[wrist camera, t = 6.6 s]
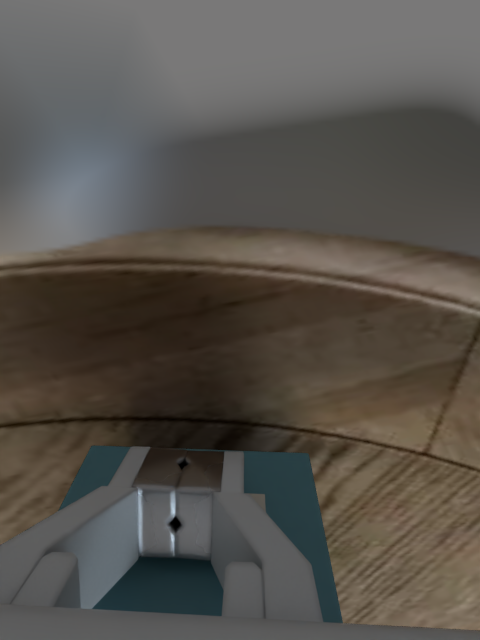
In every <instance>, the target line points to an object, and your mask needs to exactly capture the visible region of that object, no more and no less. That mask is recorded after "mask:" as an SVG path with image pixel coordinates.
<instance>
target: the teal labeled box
mask: <svg viewBox="0 0 480 640" xmlns="http://www.w3.org/2000/svg"><path fill="white" fill-rule="evenodd" d="M130 448H131V447H120V446H91V448H90V450H89V452H88V454H87V456H86V458H85V460H84V462H83V464H82V465H81V467H80V469H79V471H78V473H77V475H76V477H75V479H74V481H73V483H72V485H71V487H70V489H69V491H68V493H67V495H66V497H65V499H64V501H63V503H62V505H61V506H60V508H59V510H58V511H60V510H61V509H63V508H65V507H67V506H68V505H70V504H72V503H73V502H75V501H77V500H79V499H80V498H82V497H84V496H85V495H87V494H89V493H91V492H92V491H94V490H96V489H97V488H99V487H101V486H108V485H109V483H110V481H111V480H112V478H113V476H114V474H115V473H116V471H117V469H118V468H119V466H120V464H121V463H122V461H123V459H124V457H125V456H126V454H127V452H128V451H129V449H130ZM171 449H176V448H171ZM184 450H192V451H224V453H225V451H231V450H203V449H184ZM243 453H244V493H245V494H250V495H251V496H252V497H253V499H254V500H255V501H256V502H257V503H258V504H259V505H260V506H261V508H262V509H263V510H264V511H265V512H266V513H267V514H268V516H269V517H270V518H271V519H272V520H273V521H274V522H275V524H276V525H277V526H278V527H279V528H280V529H281V530H282V532H283V533H284V534H285V535H286V536H287V537H288V538H289V540H290V541H291V542H292V543H293V544H294V545H295V546H296V547H297V549H298V550H299V551H300V552H301V553H302V554H303V555H304V557H305V558H306V559H307V560H308V561H309V562H310V563H311V565H312V570H313V575H314V580H315V585H316V589H317V594H318V599H319V604H320V609H321V613H322V618H323V622H330V623H343V621H342V616H341V611H340V606H339V601H338V597H337V592H336V587H335V582H334V577H333V572H332V567H331V562H330V557H329V552H328V547H327V542H326V537H325V532H324V527H323V522H322V518H321V513H320V508H319V503H318V498H317V493H316V488H315V483H314V478H313V473H312V468H311V463H310V458H309V454H308V453H287V452H259V451H243ZM223 593H224V590H223V588H222V586H221V584H220V582H219V579H218V577H217V575H216V573H215V571H214V568H213V566H212V564H211V561H206V560H194V559H183V558H161V557H138V560H137V561H136V562H135V563H134V565H133V566H132V567H131V568H130V569H129V570H128V571H127V572H126V573H125V574H124V575H123V576H122V577H121V578H120V579H119V580H118V581H117V583H116V584H115V585H114V586H113V587H112V588H111V589H110V590H109V591H108V592H107V593H106V594H105V595H104V596H103V597H102V598H101V599H100V601H99V602H98V603H97V604H96V605H95V606H94V607H93V608H92V609H100V610H118V611H137V612H155V613H173V614H192V615H209V616H222V605H223Z"/></svg>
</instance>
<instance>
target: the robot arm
mask: <svg viewBox="0 0 480 640" xmlns="http://www.w3.org/2000/svg"><path fill="white" fill-rule="evenodd" d="M138 557H161V558H183V559H194V560H206V561H211V564H212V566H213V568H214V571H215V573H216V575H217V577H218V579H219V582H220V584H221V586H222V588H223V590H224V593H223V605H222V616H209V615H192V614H173V613H155V612H137V611H118V610H100V609H92V608H93V607H94V606H95V605H96V604H97V603H98V602H99V601H100V599H101V598H102V597H103V596H104V595H105V594H106V593H107V592H108V591H109V590H110V589H111V588H112V587H113V586H114V585H115V584H116V583H117V581H118V580H119V579H120V578H121V577H122V576H123V575H124V574H125V573H126V572H127V571H128V570H129V569H130V568H131V567H132V566H133V565H134V563H135V562H136V561H137V560H138ZM0 640H480V631H479V630H461V629H443V628H425V627H406V626H387V625H367V624H347V623H330V622H323V618H322V613H321V609H320V604H319V599H318V594H317V589H316V585H315V580H314V575H313V570H312V565H311V563H310V562H309V561H308V560H307V559H306V558H305V557H304V555H303V554H302V553H301V552H300V551H299V550H298V549H297V547H296V546H295V545H294V544H293V543H292V542H291V541H290V540H289V538H288V537H287V536H286V535H285V534H284V533H283V532H282V530H281V529H280V528H279V527H278V526H277V525H276V524H275V522H274V521H273V520H272V519H271V518H270V517H269V516H268V514H267V513H266V512H265V511H264V510H263V509H262V508H261V506H260V505H259V504H258V503H257V502H256V501H255V500H254V499H253V497H252V496H251V495H250V494H245V493H244V453H243V451H225V453H224V451H192V450H184V449H171V448H157V447H152V448H151V447H142V446H133V447H131V448H130V449H129V451H128V452H127V454H126V456H125V457H124V459H123V461H122V463H121V464H120V466H119V468H118V469H117V471H116V473H115V474H114V476H113V478H112V480H111V481H110V483H109V485H108V486H101V487H99V488H97V489H96V490H94V491H92V492H91V493H89V494H87V495H85V496H84V497H82V498H80V499H79V500H77V501H75V502H73V503H72V504H70V505H68V506H67V507H65V508H63V509H61V510H60V511H58V512H56V513H55V514H53V515H51V516H49V517H48V518H46V519H44V520H43V521H41V522H39V523H37V524H36V525H34V526H32V527H31V528H29V529H27V530H25V531H24V532H22V533H20V534H19V535H17V536H15V537H13V538H12V539H10V540H8V541H7V542H5V543H3V544H1V545H0Z"/></svg>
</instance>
